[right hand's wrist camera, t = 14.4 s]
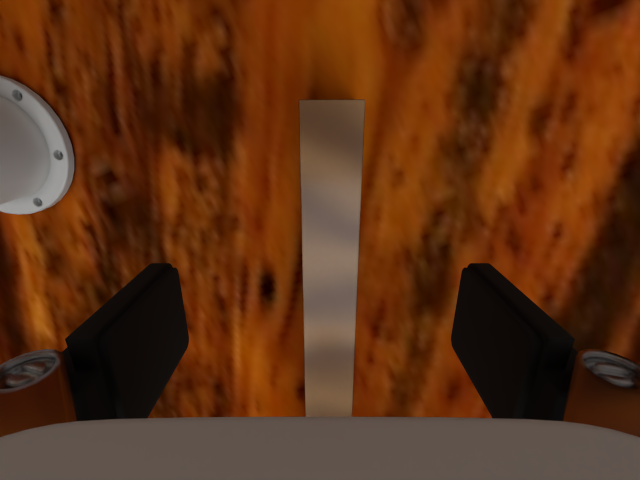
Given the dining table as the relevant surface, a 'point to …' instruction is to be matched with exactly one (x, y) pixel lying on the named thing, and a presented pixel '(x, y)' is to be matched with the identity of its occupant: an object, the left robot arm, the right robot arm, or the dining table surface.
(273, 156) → the dining table surface
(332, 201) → the beam
